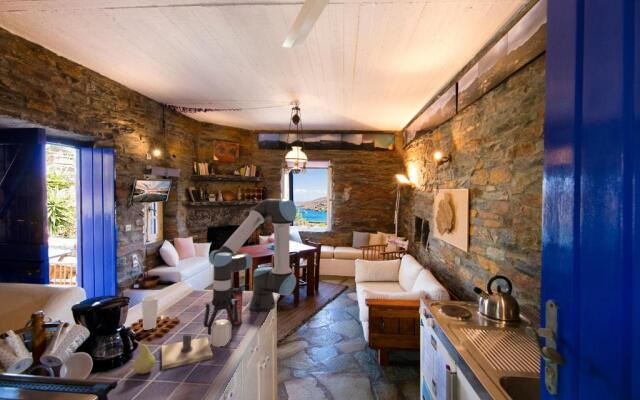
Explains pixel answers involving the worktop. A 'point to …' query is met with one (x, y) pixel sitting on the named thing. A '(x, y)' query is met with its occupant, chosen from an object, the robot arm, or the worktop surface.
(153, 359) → the fruit
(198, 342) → the board
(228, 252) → the robot arm
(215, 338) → the white domed knob
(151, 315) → the drinking glass
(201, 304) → the worktop surface
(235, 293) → the speaker
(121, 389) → the worktop surface
